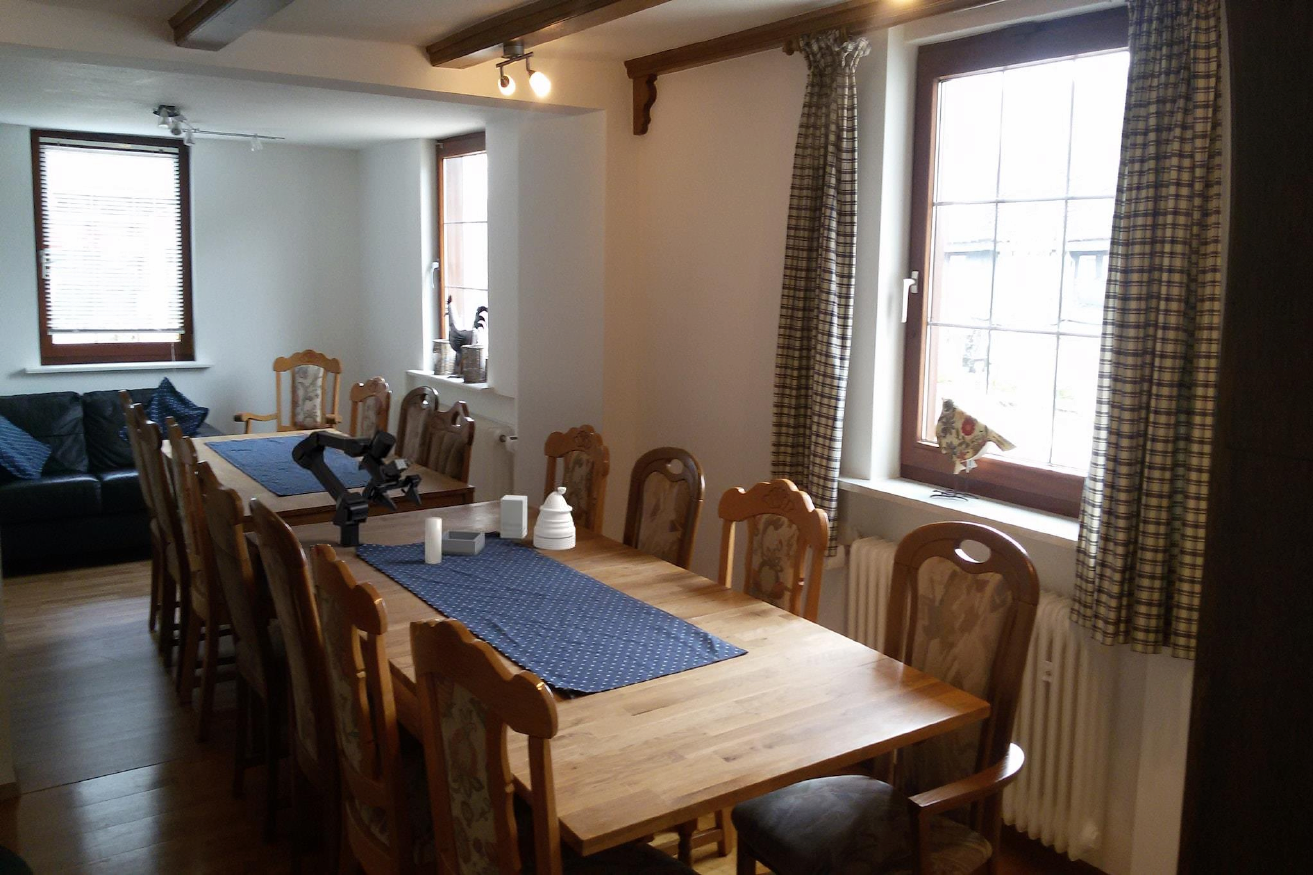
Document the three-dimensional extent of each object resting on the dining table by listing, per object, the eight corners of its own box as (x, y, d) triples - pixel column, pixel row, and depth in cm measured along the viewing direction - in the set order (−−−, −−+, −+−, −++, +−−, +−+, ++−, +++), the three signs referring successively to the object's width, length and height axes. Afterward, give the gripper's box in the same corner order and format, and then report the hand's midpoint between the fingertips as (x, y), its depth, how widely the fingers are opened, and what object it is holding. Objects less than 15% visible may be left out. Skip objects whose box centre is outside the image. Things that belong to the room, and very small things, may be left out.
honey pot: (578, 541, 331) (579, 485, 329) (571, 551, 319) (572, 492, 316) (538, 538, 333) (539, 482, 330) (529, 548, 320) (530, 490, 318)
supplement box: (527, 534, 338) (528, 495, 337) (522, 539, 331) (523, 500, 329) (505, 532, 339) (505, 494, 337) (499, 538, 332) (500, 498, 330)
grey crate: (436, 553, 309) (436, 538, 309) (447, 544, 321) (447, 530, 320) (474, 556, 308) (475, 541, 308) (484, 546, 320) (484, 532, 319)
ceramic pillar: (422, 561, 301) (422, 518, 299) (436, 559, 304) (437, 516, 302) (429, 564, 297) (429, 521, 295) (444, 562, 300) (444, 519, 298)
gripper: (364, 453, 295) (394, 491, 290) (414, 446, 311) (444, 483, 305) (348, 481, 300) (378, 520, 295) (398, 473, 316) (427, 510, 310)
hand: (408, 507), depth 301 cm, fingers open, 9 cm apart
